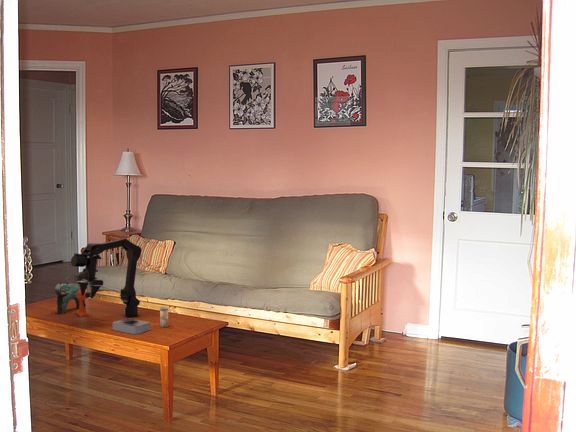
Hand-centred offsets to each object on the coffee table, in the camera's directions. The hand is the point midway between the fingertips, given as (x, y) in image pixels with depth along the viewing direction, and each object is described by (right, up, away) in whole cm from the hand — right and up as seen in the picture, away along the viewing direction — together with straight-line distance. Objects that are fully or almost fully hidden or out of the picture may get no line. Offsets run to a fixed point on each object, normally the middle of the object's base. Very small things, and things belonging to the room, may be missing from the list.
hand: (87, 296), depth 318 cm
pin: (+41, -15, -1) cm, 43 cm away
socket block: (+26, -16, -9) cm, 31 cm away
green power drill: (-20, -12, +31) cm, 39 cm away
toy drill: (-6, -14, +18) cm, 23 cm away
